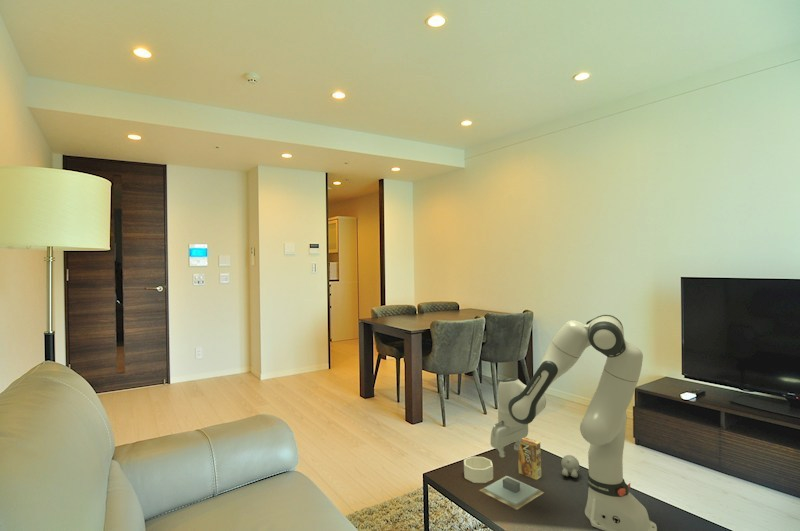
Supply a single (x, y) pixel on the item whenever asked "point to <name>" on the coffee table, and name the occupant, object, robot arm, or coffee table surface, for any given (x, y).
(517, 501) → the lid
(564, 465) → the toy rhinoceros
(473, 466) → the bowl
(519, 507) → the tan square mat
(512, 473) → the coffee table surface
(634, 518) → the robot arm
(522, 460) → the candy box
